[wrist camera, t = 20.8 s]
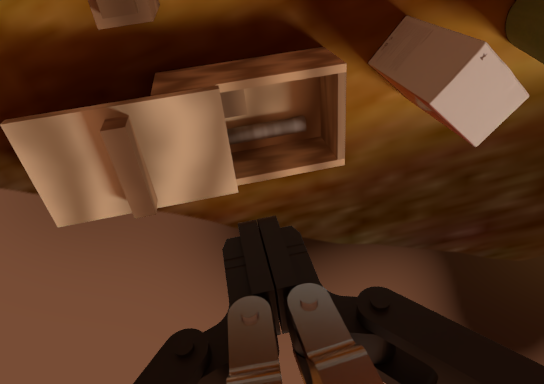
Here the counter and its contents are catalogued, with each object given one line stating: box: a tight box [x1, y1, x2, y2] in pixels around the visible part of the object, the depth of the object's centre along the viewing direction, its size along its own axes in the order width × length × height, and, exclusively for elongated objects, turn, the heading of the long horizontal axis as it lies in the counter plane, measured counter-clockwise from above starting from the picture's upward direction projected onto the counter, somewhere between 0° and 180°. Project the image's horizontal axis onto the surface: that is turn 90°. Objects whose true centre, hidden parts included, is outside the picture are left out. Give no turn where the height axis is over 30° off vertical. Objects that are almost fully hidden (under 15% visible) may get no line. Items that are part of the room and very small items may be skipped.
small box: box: [368, 16, 529, 147], centre depth 37 cm, size 8×6×13 cm
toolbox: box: [151, 47, 346, 186], centre depth 39 cm, size 18×11×7 cm, turn 95°
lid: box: [0, 85, 238, 227], centre depth 33 cm, size 18×11×4 cm, turn 95°
